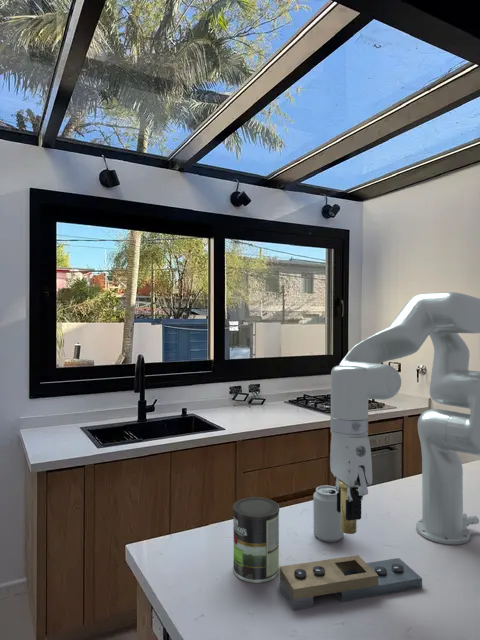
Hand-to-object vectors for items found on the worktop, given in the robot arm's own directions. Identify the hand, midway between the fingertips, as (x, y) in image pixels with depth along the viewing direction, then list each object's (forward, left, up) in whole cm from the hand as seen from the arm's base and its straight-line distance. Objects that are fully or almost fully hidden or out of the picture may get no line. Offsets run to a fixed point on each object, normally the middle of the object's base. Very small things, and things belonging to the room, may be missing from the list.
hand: (348, 514), depth 91 cm
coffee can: (+17, -11, -15) cm, 25 cm away
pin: (0, 0, -3) cm, 3 cm away
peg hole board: (0, 0, -15) cm, 15 cm away
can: (-5, -21, -15) cm, 27 cm away
